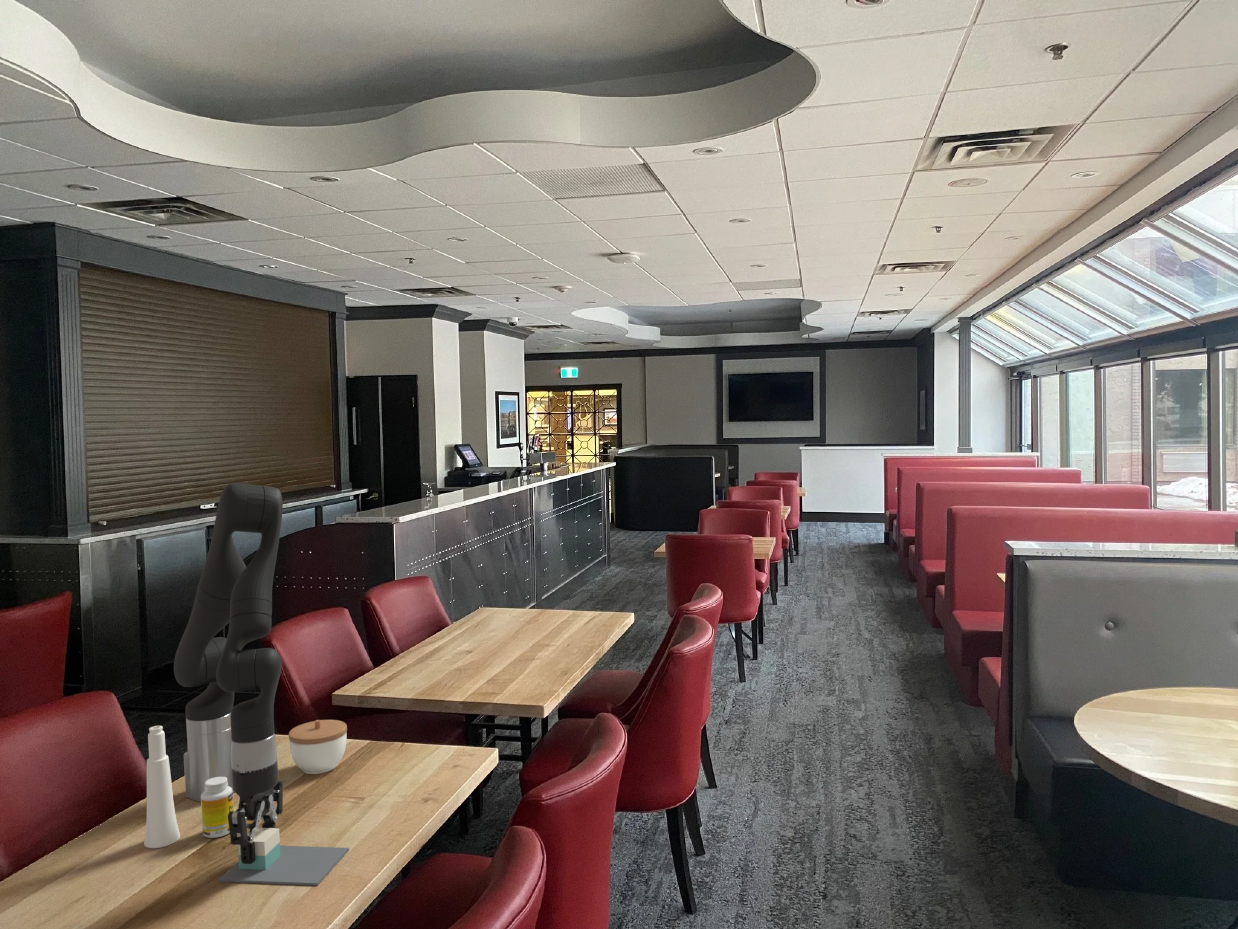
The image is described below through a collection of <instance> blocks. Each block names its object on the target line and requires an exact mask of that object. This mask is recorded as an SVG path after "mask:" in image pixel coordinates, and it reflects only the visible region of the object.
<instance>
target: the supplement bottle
mask: <svg viewBox="0 0 1238 929" xmlns="http://www.w3.org/2000/svg"><path fill="white" fill-rule="evenodd" d="M200 806H201V807H200V808H201V810H200V811H201V824H202V825H201V826H202V834H203V836H204V837H205V838H210V839H217V838H220V837H224V836H227V835H228V834H230V831H229V823H228V813H229V812H234V796H233V792H232V788H231V787H229V786H228V782H227V778H226V777H215V778H211V779H209V780H207V781H206V782H205V791H204V792H203V793H202V794H201V801H200Z"/></svg>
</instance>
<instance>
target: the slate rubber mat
mask: <svg viewBox="0 0 1238 929" xmlns="http://www.w3.org/2000/svg"><path fill="white" fill-rule="evenodd" d="M349 851H350V848H349V847H338V846H337V847H336V846H333V847H329V846H307V845H306V846H305V845H280V853H281V855H280V856H279V857H278V858H277V859H276V860H275V861H274V862H273V863H272V864H271V865H270V866H269V867H268V868H267V869H266V870H258V869H239V861H237V863H235V865H232V867H231V868H230V869H229V870H227V871H226V873H224V874H223V875H222V876H221V877H219V879H218V882H220V883H221V882H224V883H248V884H267V885H268V884H271V885H294V886H295V885H297V886H316V887H317V886H319V885H320V884H321V883H322V881H323V880H324V879H325V878H326V877H327V876H328V875H329V873H330V872H331V871H332V870H333V869H334V868H335V867H336V866H337V865H338V863H339V862H340V861H341V860H342V859H343V857H344V856H346V854H347V853H348V852H349Z"/></svg>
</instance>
